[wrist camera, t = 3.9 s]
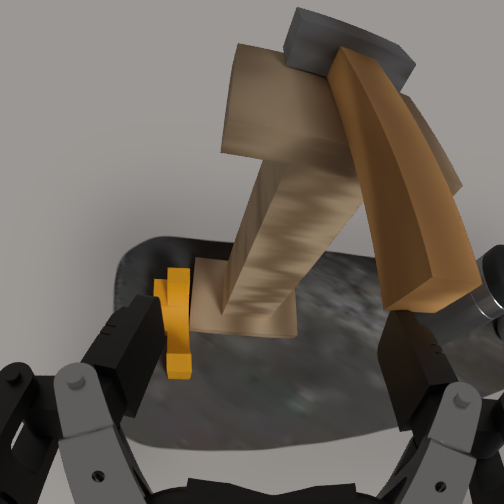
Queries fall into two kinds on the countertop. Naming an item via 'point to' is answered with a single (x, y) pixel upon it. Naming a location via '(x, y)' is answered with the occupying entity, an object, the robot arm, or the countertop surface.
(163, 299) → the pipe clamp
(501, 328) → the plastic bottle
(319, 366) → the countertop surface
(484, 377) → the countertop surface
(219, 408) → the countertop surface
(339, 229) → the stand
